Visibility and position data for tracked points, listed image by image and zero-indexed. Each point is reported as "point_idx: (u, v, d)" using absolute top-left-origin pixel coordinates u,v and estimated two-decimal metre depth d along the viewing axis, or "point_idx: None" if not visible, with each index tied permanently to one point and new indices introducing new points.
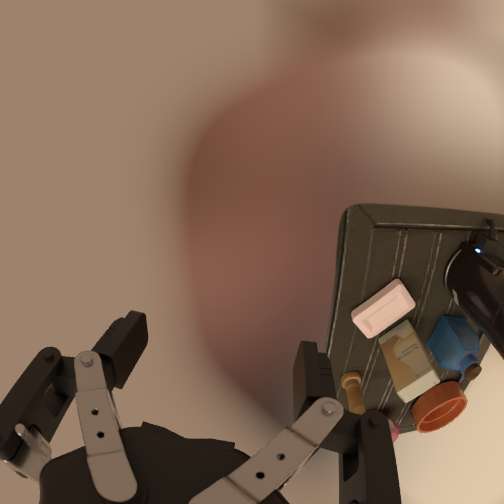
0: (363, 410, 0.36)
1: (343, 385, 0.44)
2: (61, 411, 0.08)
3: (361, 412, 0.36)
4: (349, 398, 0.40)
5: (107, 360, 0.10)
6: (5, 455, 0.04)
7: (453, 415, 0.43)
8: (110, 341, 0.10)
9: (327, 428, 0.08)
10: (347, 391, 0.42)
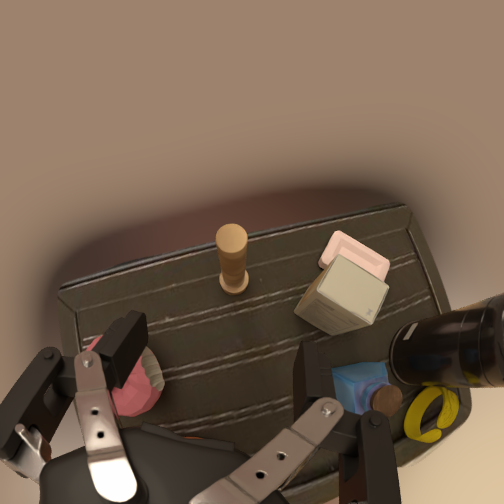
0: (245, 261, 0.27)
1: None
2: (61, 411, 0.08)
3: None
4: None
5: (107, 360, 0.10)
6: (5, 455, 0.04)
7: None
8: (110, 341, 0.10)
9: (327, 428, 0.08)
10: None
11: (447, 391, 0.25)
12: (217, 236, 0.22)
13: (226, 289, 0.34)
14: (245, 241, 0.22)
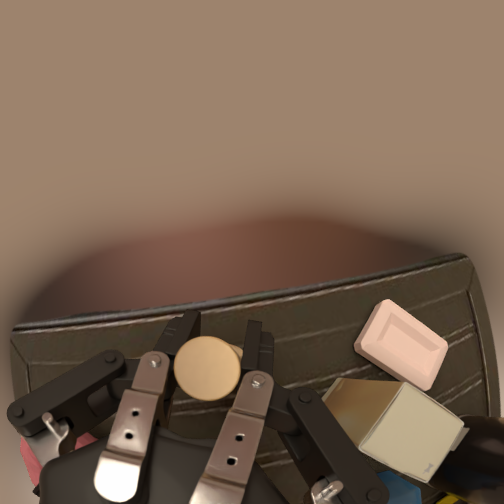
0: None
1: None
2: (106, 413, 0.09)
3: None
4: None
5: (173, 359, 0.11)
6: (24, 431, 0.05)
7: None
8: (174, 340, 0.11)
9: (252, 398, 0.09)
10: None
11: None
12: (177, 362, 0.10)
13: None
14: (235, 380, 0.10)
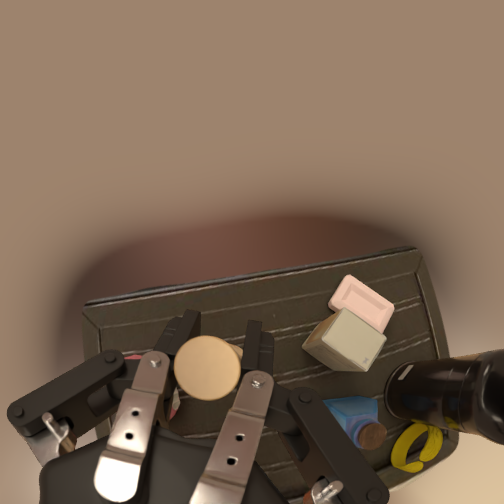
0: None
1: None
2: (106, 413, 0.09)
3: None
4: None
5: (173, 359, 0.11)
6: (24, 431, 0.05)
7: None
8: (174, 340, 0.11)
9: (252, 398, 0.09)
10: None
11: (433, 428, 0.26)
12: (177, 362, 0.10)
13: None
14: (235, 379, 0.10)
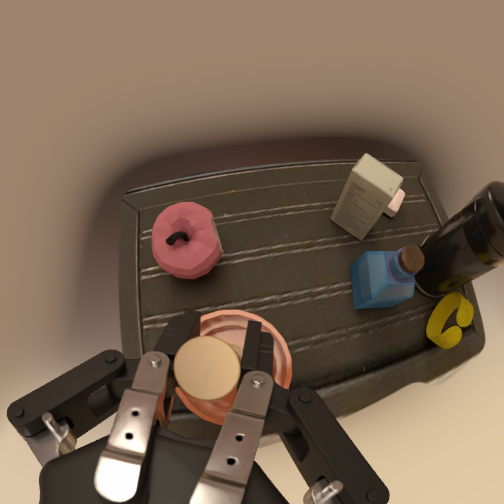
0: None
1: None
2: (106, 413, 0.09)
3: None
4: None
5: (173, 359, 0.11)
6: (24, 431, 0.05)
7: (213, 416, 0.27)
8: (174, 340, 0.11)
9: (252, 398, 0.09)
10: None
11: None
12: (177, 362, 0.10)
13: None
14: (235, 379, 0.10)
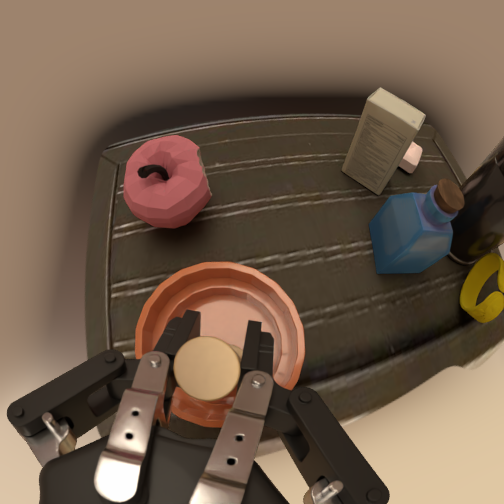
0: None
1: None
2: (106, 413, 0.09)
3: None
4: None
5: (173, 359, 0.11)
6: (24, 431, 0.05)
7: (193, 412, 0.19)
8: (174, 340, 0.11)
9: (252, 398, 0.09)
10: None
11: None
12: (176, 362, 0.10)
13: None
14: (234, 380, 0.10)
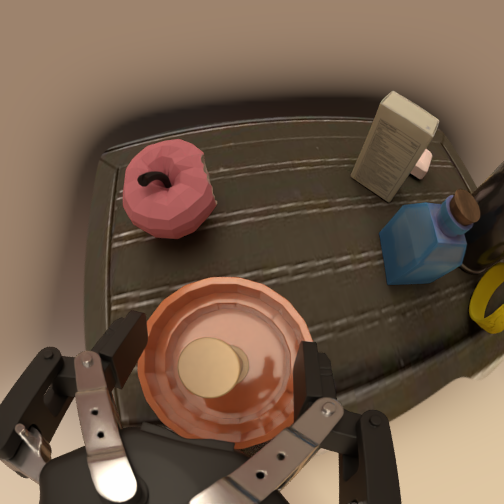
0: None
1: None
2: (61, 411, 0.08)
3: None
4: None
5: (107, 360, 0.10)
6: (5, 455, 0.04)
7: (200, 433, 0.17)
8: (110, 341, 0.10)
9: (327, 428, 0.08)
10: None
11: None
12: (180, 362, 0.10)
13: None
14: (235, 378, 0.10)
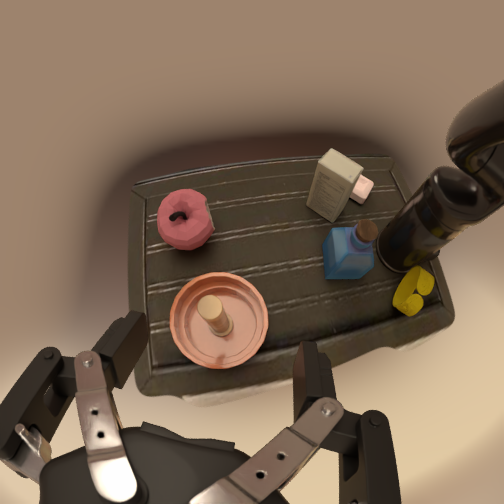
0: (225, 318, 0.32)
1: None
2: (61, 411, 0.08)
3: (225, 314, 0.32)
4: None
5: (107, 360, 0.10)
6: (5, 455, 0.04)
7: (203, 361, 0.35)
8: (110, 341, 0.10)
9: (327, 428, 0.08)
10: None
11: None
12: (198, 305, 0.28)
13: (213, 332, 0.39)
14: (220, 311, 0.28)
